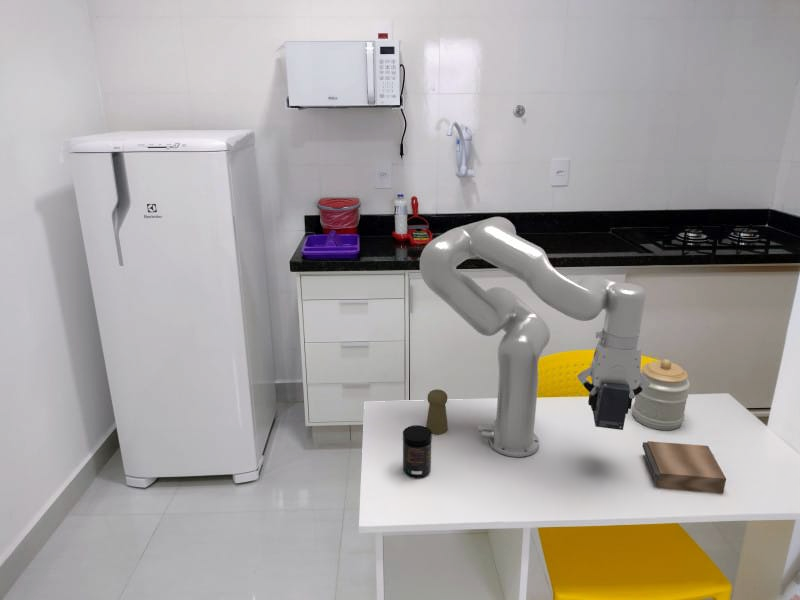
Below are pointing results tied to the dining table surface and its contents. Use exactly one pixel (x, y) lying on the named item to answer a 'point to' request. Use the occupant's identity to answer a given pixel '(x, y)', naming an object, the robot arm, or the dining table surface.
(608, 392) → the small box
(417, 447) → the supplement container
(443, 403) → the cork
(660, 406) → the jar
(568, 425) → the dining table surface
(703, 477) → the dock
